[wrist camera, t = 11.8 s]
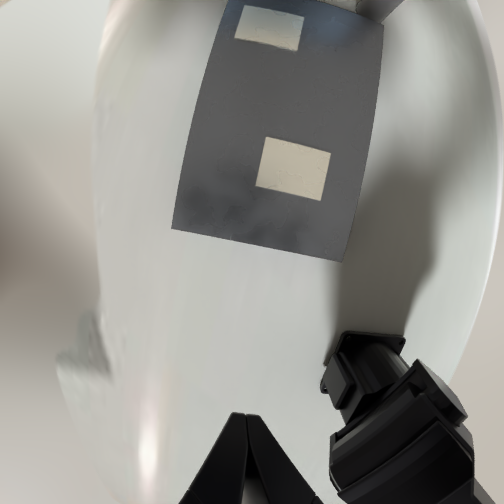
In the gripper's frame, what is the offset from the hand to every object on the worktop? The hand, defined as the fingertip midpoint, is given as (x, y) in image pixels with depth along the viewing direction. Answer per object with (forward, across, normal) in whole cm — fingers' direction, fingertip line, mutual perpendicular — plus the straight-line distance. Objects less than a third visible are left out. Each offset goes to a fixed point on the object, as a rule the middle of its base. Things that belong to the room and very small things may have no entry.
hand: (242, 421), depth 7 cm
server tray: (+13, 0, -12) cm, 18 cm away
